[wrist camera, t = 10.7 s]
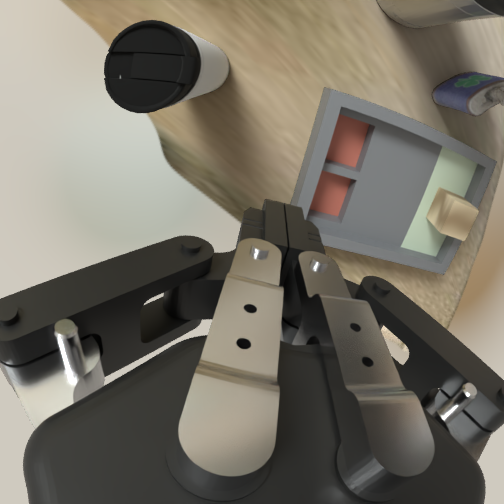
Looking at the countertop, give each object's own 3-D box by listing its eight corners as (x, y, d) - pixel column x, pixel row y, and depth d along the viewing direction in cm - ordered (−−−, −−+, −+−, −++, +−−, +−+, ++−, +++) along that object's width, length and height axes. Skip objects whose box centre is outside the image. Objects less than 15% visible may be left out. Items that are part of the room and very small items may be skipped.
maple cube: (438, 186, 36) (454, 200, 32) (462, 196, 37) (479, 210, 33) (425, 216, 39) (440, 232, 35) (449, 225, 39) (464, 241, 35)
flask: (435, 107, 33) (481, 123, 24) (427, 87, 32) (473, 96, 23) (483, 86, 31) (534, 98, 21) (476, 67, 29) (527, 73, 20)
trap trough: (324, 87, 34) (331, 88, 30) (479, 151, 35) (496, 161, 32) (285, 220, 43) (287, 236, 39) (432, 258, 45) (443, 274, 41)
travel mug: (227, 97, 35) (187, 121, 18) (173, 89, 34) (90, 111, 17) (237, 47, 32) (206, 21, 15) (181, 41, 31) (102, 18, 14)
